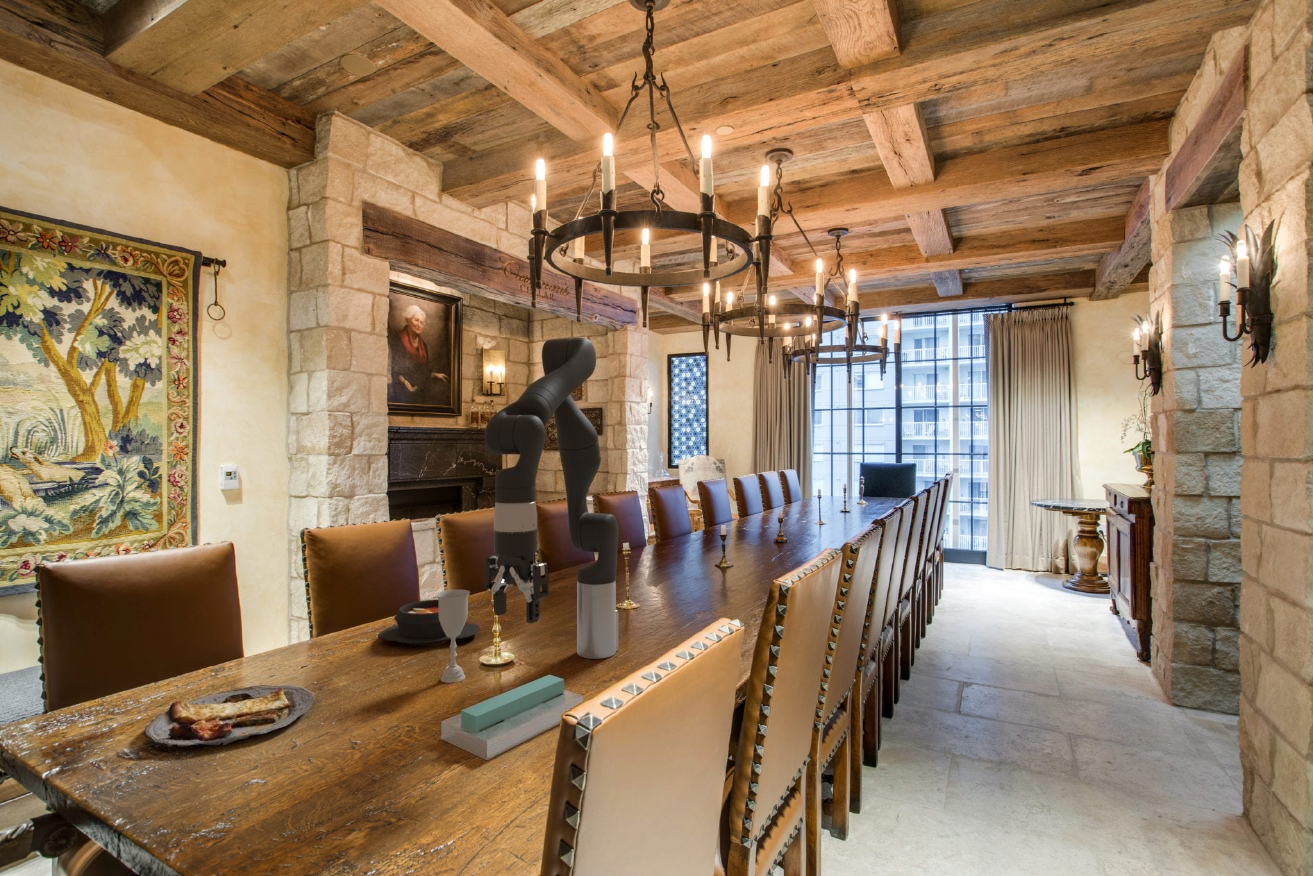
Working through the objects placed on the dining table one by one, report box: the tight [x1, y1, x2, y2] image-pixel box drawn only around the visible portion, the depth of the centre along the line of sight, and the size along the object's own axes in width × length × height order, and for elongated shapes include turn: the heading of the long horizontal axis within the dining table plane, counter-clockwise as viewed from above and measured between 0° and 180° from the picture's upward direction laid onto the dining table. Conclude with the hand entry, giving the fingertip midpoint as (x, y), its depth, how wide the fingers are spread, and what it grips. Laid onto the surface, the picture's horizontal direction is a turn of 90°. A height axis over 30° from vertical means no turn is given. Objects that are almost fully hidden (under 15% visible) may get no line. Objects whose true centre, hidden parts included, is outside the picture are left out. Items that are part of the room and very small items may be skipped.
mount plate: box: [440, 689, 584, 761], centre depth 110 cm, size 22×12×3 cm, turn 144°
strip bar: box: [460, 674, 565, 732], centre depth 110 cm, size 20×4×5 cm, turn 143°
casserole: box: [377, 599, 481, 646], centre depth 160 cm, size 25×19×8 cm
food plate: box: [143, 684, 315, 748], centre depth 112 cm, size 25×23×4 cm
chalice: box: [435, 589, 471, 684], centre depth 133 cm, size 7×7×18 cm
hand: (515, 618), depth 111 cm, fingers open, 8 cm apart
